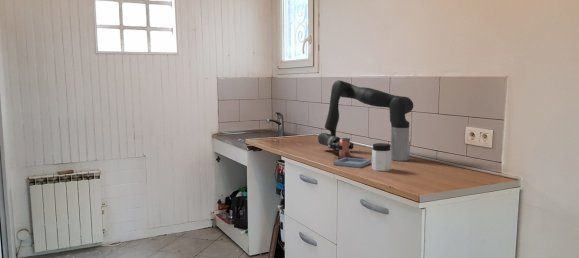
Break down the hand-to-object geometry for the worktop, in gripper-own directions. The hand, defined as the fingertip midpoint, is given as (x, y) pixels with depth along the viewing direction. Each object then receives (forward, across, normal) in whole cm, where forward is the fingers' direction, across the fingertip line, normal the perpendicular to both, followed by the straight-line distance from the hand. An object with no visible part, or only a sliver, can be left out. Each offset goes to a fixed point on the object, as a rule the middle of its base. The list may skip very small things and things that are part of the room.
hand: (346, 147), depth 233 cm
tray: (+12, -1, +6) cm, 14 cm away
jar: (+28, +7, +7) cm, 29 cm away
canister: (-3, 0, +6) cm, 7 cm away
